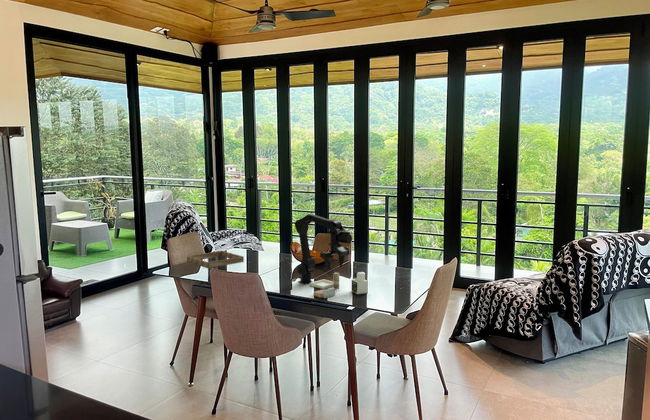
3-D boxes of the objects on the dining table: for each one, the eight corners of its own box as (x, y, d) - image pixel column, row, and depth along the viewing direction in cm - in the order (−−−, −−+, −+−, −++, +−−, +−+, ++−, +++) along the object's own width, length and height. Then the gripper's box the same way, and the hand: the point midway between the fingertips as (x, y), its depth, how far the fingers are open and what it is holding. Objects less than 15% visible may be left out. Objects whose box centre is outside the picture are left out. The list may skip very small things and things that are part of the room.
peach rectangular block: (314, 295, 282) (313, 291, 282) (323, 293, 286) (323, 289, 286) (320, 298, 277) (320, 294, 277) (330, 296, 282) (330, 291, 281)
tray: (309, 285, 301) (309, 282, 301) (323, 282, 309) (323, 279, 309) (323, 289, 293) (323, 286, 293) (337, 285, 301) (337, 282, 301)
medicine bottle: (351, 291, 290) (351, 271, 289) (362, 289, 293) (362, 269, 291) (356, 294, 284) (357, 273, 282) (367, 292, 286) (368, 272, 285)
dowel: (332, 288, 296) (332, 273, 295) (336, 287, 299) (336, 272, 297) (336, 289, 294) (336, 274, 293) (340, 288, 296) (340, 273, 295)
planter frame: (187, 261, 365) (186, 256, 364) (221, 255, 385) (221, 250, 384) (208, 268, 344) (208, 262, 343) (243, 261, 364) (243, 256, 364)
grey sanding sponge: (322, 297, 277) (322, 290, 277) (332, 294, 283) (332, 287, 282) (325, 298, 276) (325, 291, 275) (335, 295, 281) (335, 288, 281)
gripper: (331, 245, 280) (331, 272, 282) (356, 241, 292) (355, 267, 293) (319, 242, 288) (319, 269, 290) (343, 239, 300) (343, 264, 302)
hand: (335, 267), depth 294 cm, fingers open, 9 cm apart
